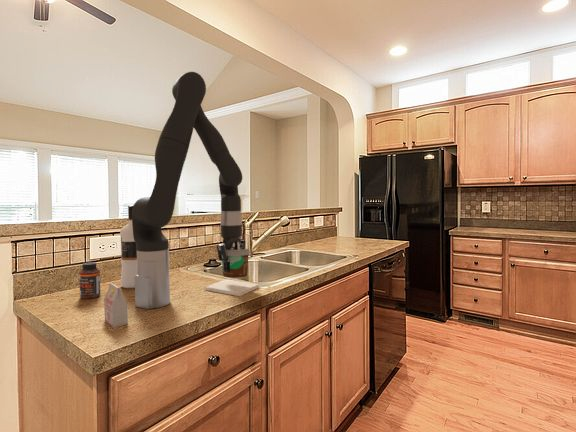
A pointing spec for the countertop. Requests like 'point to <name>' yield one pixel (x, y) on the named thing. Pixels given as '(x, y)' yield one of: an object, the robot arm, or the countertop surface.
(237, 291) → the cutting board
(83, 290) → the supplement bottle
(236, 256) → the food container
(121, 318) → the white milk carton
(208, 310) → the countertop surface
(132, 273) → the vodka
